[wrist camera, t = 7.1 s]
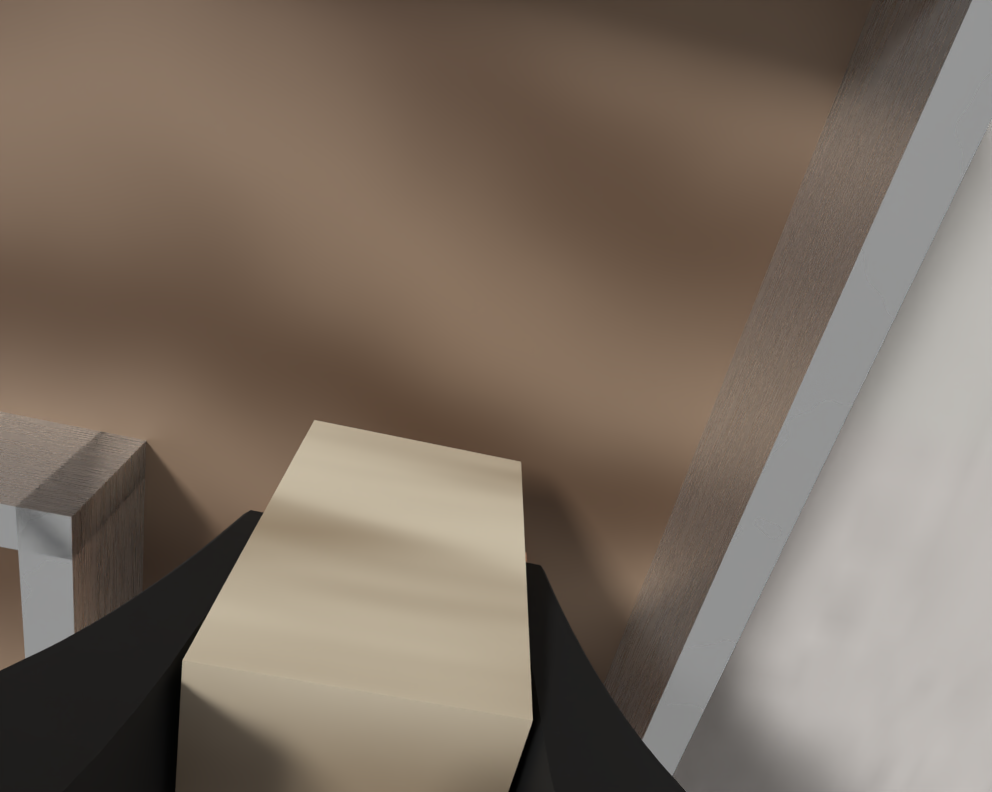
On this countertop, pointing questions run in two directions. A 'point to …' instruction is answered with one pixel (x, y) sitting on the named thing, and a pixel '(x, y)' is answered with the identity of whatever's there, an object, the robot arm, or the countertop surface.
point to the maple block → (367, 629)
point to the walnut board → (401, 244)
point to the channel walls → (734, 417)
